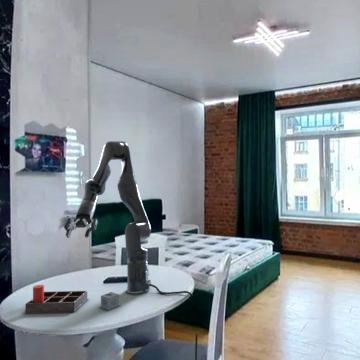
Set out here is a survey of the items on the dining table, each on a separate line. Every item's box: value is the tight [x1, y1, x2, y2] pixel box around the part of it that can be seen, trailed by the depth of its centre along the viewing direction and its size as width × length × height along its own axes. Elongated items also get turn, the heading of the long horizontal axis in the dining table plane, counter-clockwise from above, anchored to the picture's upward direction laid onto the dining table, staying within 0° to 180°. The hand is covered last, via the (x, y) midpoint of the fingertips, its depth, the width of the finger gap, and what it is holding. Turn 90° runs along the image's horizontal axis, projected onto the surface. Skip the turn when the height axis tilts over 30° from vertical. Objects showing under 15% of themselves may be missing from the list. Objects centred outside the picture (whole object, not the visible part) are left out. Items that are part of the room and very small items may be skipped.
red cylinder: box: [32, 284, 45, 303], centre depth 127 cm, size 4×4×9 cm
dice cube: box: [100, 291, 120, 311], centre depth 130 cm, size 5×5×5 cm
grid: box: [24, 290, 88, 314], centre depth 131 cm, size 19×13×4 cm
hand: (76, 236), depth 149 cm, fingers open, 8 cm apart
